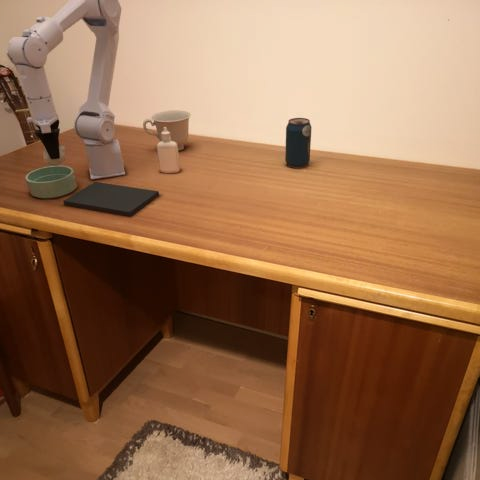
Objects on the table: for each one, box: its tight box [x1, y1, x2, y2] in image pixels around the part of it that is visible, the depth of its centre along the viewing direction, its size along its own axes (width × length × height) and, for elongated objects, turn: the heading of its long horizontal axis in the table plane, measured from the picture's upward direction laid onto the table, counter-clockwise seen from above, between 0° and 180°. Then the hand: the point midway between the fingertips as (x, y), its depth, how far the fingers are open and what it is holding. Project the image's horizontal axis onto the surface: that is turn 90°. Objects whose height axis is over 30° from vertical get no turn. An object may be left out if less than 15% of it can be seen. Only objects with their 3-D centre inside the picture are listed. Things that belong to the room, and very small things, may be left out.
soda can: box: [284, 117, 313, 169], centre depth 129 cm, size 7×7×12 cm
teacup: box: [142, 109, 192, 152], centre depth 144 cm, size 12×15×10 cm
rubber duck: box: [42, 144, 67, 166], centre depth 116 cm, size 5×7×8 cm
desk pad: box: [63, 181, 160, 218], centre depth 117 cm, size 20×13×1 cm, turn 66°
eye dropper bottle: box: [156, 127, 181, 174], centre depth 129 cm, size 4×6×12 cm
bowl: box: [25, 165, 78, 200], centre depth 123 cm, size 12×12×4 cm
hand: (55, 154), depth 117 cm, fingers closed on rubber duck, 5 cm apart
